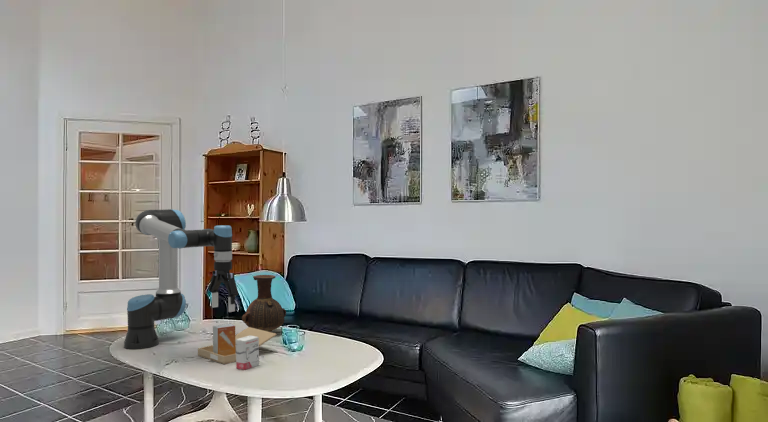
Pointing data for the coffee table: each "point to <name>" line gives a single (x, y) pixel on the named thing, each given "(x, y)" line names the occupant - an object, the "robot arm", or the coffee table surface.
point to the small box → (224, 339)
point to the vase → (264, 307)
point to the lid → (262, 335)
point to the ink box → (247, 352)
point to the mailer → (216, 355)
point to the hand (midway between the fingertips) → (223, 309)
